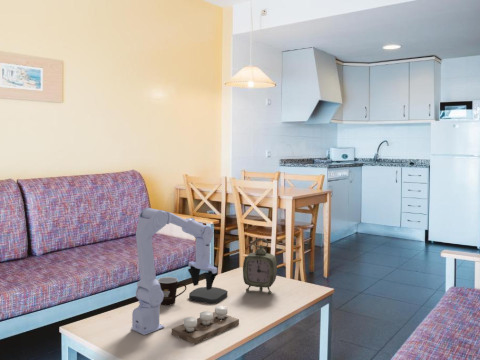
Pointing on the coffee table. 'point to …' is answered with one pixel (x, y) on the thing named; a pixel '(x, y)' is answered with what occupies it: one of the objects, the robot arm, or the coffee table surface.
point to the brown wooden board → (205, 329)
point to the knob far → (221, 311)
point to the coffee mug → (169, 290)
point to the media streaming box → (208, 295)
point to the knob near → (190, 324)
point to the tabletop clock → (259, 268)
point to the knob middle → (206, 317)
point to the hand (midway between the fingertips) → (202, 287)
